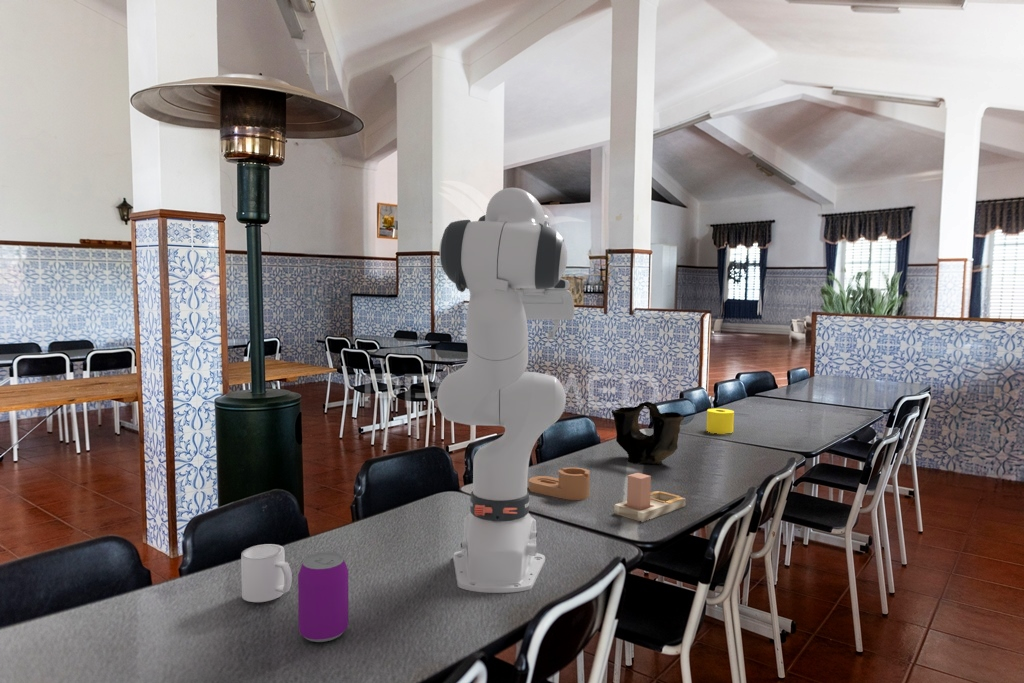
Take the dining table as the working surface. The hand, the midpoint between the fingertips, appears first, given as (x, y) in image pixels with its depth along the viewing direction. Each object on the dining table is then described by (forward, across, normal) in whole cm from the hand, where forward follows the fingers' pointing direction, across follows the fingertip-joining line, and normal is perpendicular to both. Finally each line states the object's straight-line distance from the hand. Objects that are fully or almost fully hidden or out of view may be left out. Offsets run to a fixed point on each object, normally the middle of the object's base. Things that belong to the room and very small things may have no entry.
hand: (532, 338), depth 166 cm
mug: (+43, -52, -43) cm, 80 cm away
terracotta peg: (+43, +26, -5) cm, 51 cm away
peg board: (+43, +30, -2) cm, 53 cm away
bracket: (+44, +10, +15) cm, 47 cm away
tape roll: (+43, +86, +87) cm, 130 cm away
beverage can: (+43, -40, -57) cm, 82 cm away
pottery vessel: (+43, +43, +45) cm, 76 cm away
